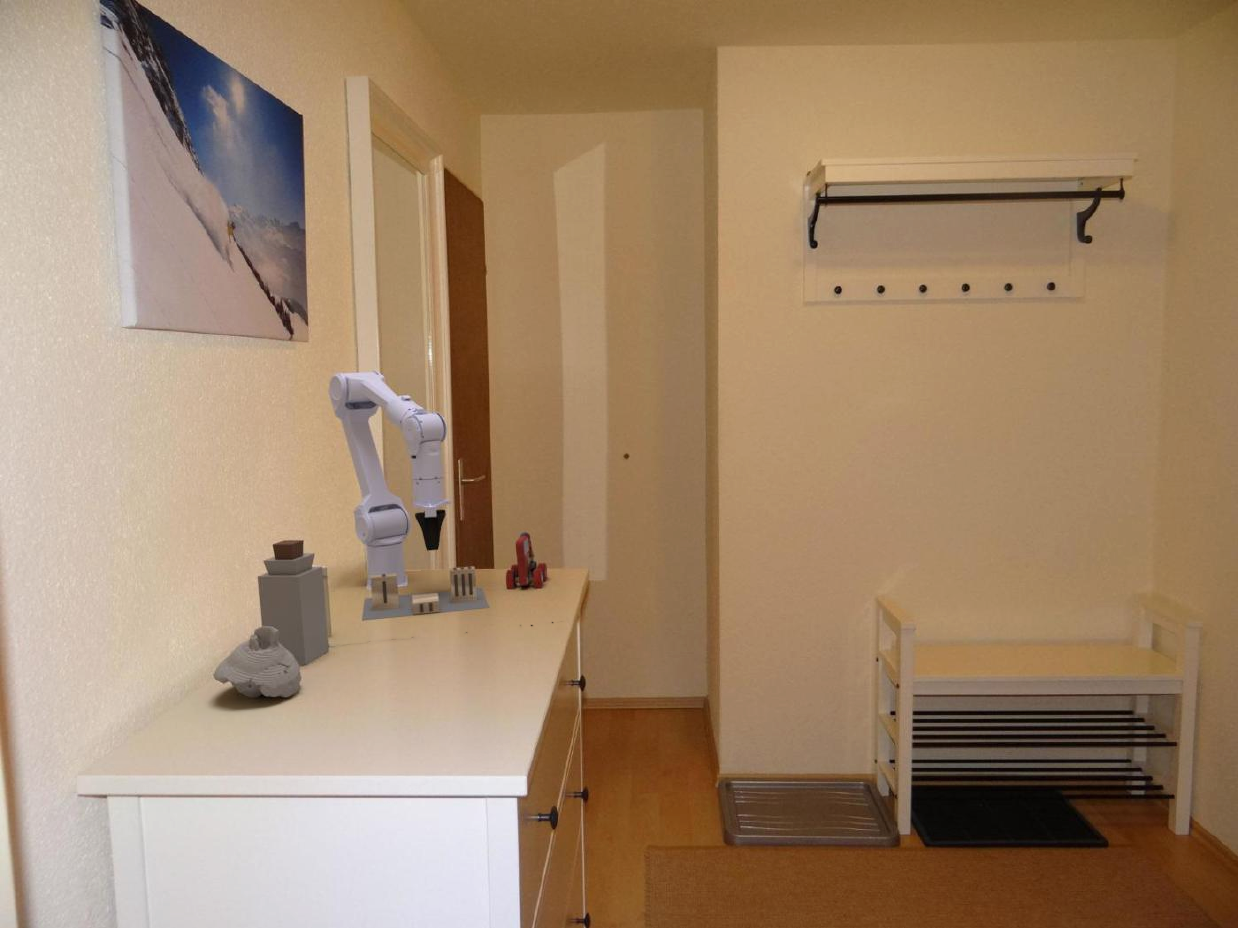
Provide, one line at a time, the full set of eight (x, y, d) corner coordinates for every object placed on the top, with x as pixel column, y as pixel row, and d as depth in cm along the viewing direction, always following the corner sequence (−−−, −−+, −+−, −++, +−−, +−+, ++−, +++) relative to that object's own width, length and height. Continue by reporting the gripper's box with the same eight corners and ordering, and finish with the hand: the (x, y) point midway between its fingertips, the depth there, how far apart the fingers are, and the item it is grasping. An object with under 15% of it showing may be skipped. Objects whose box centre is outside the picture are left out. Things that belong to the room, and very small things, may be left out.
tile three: (451, 600, 170) (449, 567, 169) (475, 597, 171) (473, 565, 170) (452, 603, 168) (450, 570, 167) (476, 600, 169) (474, 567, 168)
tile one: (373, 607, 167) (370, 574, 166) (398, 605, 168) (396, 572, 167) (373, 610, 165) (370, 577, 164) (398, 608, 166) (396, 574, 165)
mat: (365, 601, 174) (364, 598, 174) (481, 590, 179) (481, 587, 179) (361, 623, 159) (361, 620, 159) (489, 610, 164) (489, 607, 164)
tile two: (412, 595, 166) (412, 603, 160) (437, 592, 167) (438, 600, 161) (412, 606, 166) (413, 615, 160) (438, 604, 167) (439, 612, 161)
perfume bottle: (305, 665, 137) (296, 546, 135) (265, 664, 139) (255, 546, 137) (328, 651, 144) (319, 538, 142) (289, 650, 145) (280, 538, 143)
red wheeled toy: (549, 578, 187) (546, 528, 186) (540, 593, 175) (537, 540, 174) (515, 579, 188) (512, 529, 186) (504, 594, 175) (501, 541, 174)
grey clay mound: (321, 702, 129) (330, 634, 126) (248, 732, 119) (256, 659, 116) (266, 667, 134) (274, 601, 132) (192, 692, 125) (199, 622, 122)
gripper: (451, 480, 165) (455, 554, 167) (448, 472, 180) (452, 541, 181) (411, 483, 164) (416, 558, 165) (411, 475, 178) (415, 544, 179)
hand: (432, 549), depth 173 cm, fingers closed
